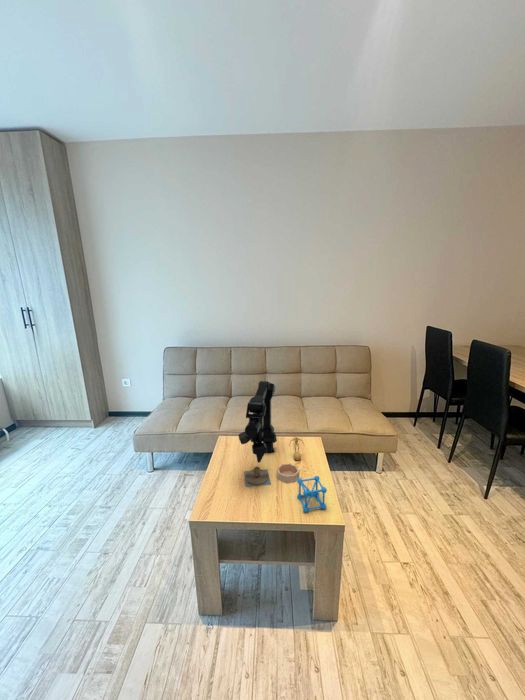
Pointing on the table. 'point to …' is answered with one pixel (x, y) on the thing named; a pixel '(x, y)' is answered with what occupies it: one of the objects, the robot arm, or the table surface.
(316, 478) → the molecular structure
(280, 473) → the bowl
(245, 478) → the mat
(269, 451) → the robot arm
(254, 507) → the table surface
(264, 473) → the lid
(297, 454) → the figurine
